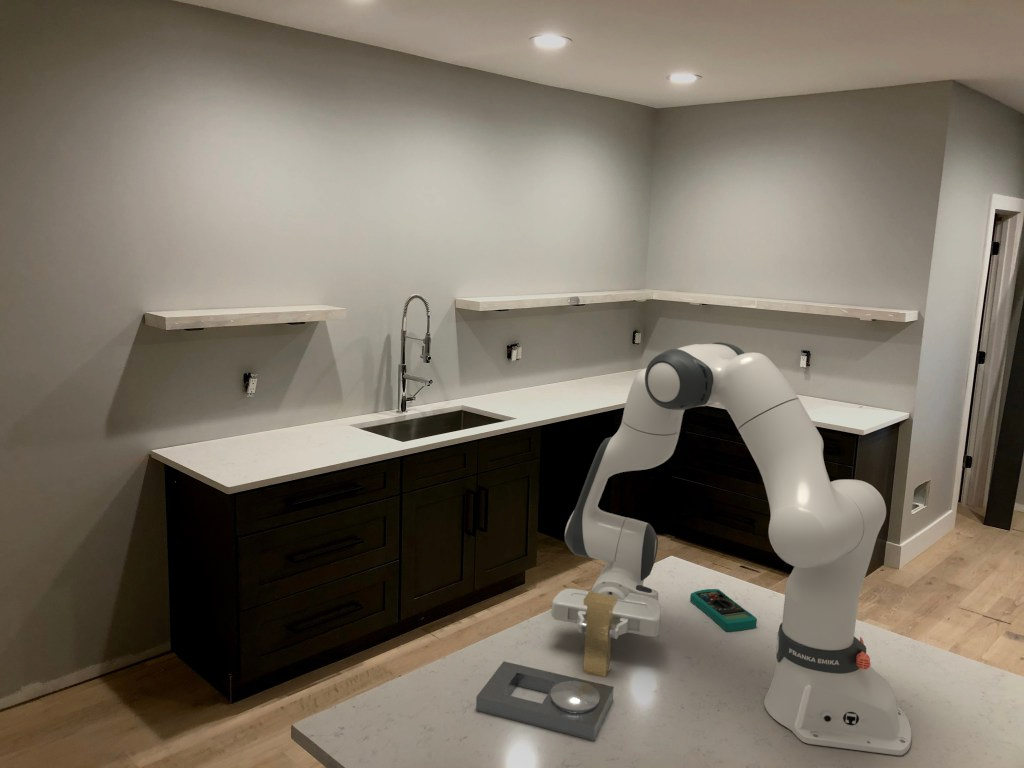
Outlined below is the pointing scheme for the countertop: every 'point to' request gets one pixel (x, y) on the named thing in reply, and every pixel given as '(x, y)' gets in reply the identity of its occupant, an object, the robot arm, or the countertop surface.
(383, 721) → the countertop surface
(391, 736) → the countertop surface
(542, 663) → the countertop surface
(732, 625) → the digital multimeter
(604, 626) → the wedge pin
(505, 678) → the gray socket block
